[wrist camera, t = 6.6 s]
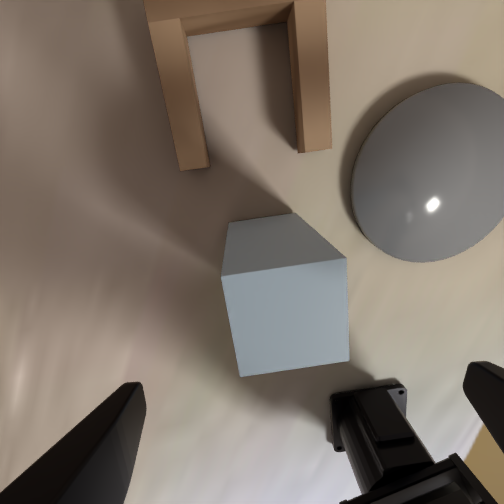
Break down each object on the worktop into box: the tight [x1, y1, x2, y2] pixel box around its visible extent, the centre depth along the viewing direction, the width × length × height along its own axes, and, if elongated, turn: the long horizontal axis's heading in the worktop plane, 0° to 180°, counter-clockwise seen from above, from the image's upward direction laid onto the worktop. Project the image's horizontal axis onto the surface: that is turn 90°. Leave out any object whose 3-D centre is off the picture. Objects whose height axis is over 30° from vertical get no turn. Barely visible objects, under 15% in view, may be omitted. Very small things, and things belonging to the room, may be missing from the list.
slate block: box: [221, 213, 349, 377], centre depth 15 cm, size 4×4×9 cm
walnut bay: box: [143, 0, 332, 171], centre depth 15 cm, size 8×8×2 cm
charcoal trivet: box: [351, 83, 504, 262], centre depth 18 cm, size 11×11×1 cm
